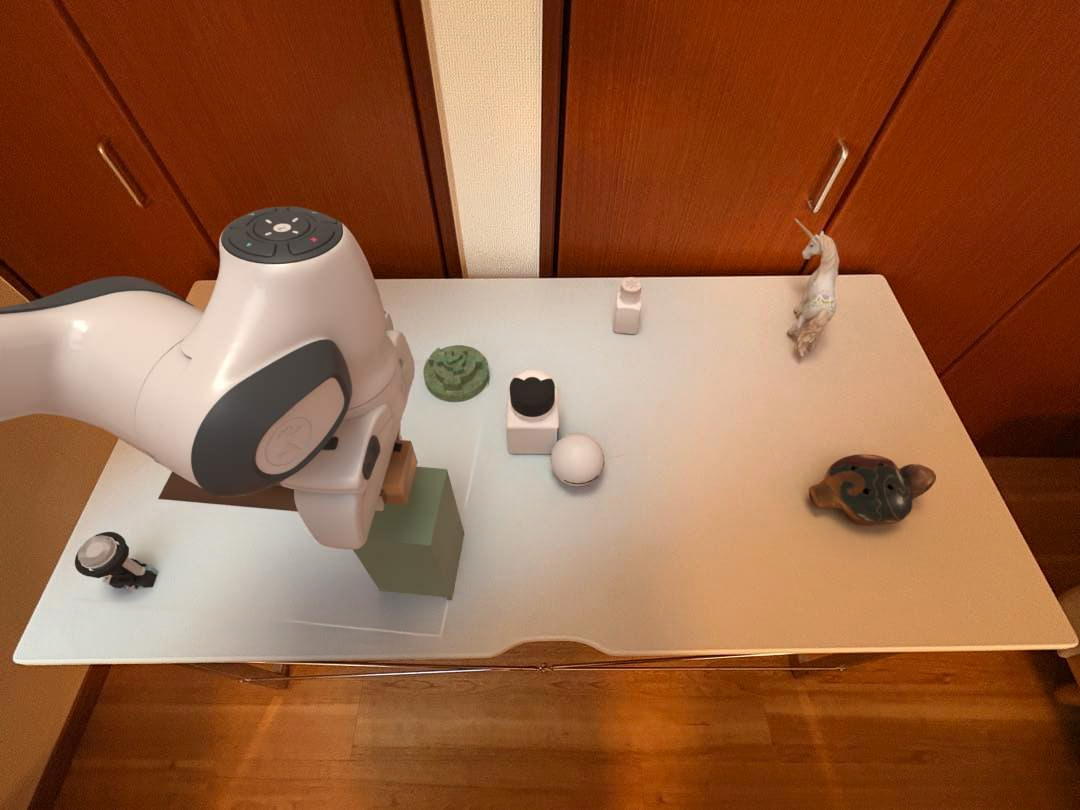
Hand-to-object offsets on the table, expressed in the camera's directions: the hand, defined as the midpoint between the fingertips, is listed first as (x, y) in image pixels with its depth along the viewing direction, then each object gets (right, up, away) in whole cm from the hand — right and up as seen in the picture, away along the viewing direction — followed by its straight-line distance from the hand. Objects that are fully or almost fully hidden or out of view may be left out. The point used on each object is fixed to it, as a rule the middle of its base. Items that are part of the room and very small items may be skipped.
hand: (385, 475), depth 61 cm
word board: (-22, -3, +27) cm, 35 cm away
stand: (0, -13, +18) cm, 23 cm away
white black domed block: (+14, +3, +30) cm, 33 cm away
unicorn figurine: (+57, +21, +43) cm, 74 cm away
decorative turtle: (+58, -6, +23) cm, 63 cm away
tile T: (0, -1, +1) cm, 1 cm away
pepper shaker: (+30, +20, +43) cm, 56 cm away
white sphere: (+22, -3, +26) cm, 34 cm away
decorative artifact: (+2, +11, +36) cm, 38 cm away
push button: (-36, -16, +18) cm, 43 cm away
